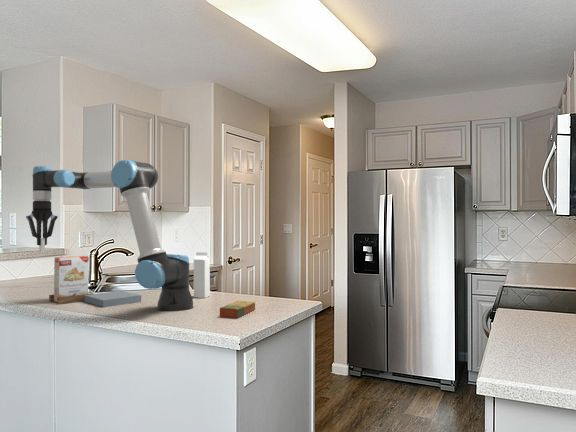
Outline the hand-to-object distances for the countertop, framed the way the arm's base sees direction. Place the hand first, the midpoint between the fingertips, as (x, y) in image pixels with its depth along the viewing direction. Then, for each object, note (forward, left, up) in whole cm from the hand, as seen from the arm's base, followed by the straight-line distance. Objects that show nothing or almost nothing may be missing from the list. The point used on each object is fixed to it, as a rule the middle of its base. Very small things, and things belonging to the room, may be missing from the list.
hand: (41, 252), depth 211 cm
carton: (-81, -47, -24) cm, 97 cm away
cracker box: (0, -13, -24) cm, 27 cm away
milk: (-37, -61, -24) cm, 75 cm away
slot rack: (0, -13, -23) cm, 27 cm away
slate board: (-17, -25, -23) cm, 38 cm away
